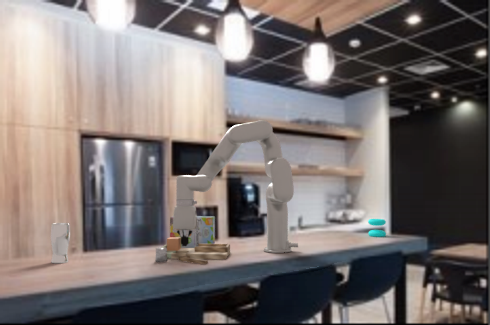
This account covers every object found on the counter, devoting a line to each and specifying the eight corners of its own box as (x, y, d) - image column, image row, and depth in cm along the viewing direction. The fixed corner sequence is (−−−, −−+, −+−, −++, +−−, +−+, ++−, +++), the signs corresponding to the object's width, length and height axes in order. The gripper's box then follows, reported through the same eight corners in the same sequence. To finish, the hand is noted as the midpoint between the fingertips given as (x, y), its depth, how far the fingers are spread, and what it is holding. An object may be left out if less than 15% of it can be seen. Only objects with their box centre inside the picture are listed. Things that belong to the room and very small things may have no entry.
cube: (180, 248, 185) (180, 237, 185) (178, 250, 180) (178, 238, 180) (169, 248, 185) (169, 237, 185) (166, 250, 180) (166, 238, 180)
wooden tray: (230, 253, 186) (230, 243, 186) (225, 259, 170) (225, 249, 170) (168, 252, 188) (168, 243, 188) (158, 258, 172) (158, 248, 172)
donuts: (364, 218, 251) (379, 218, 254) (365, 235, 251) (379, 235, 254) (374, 220, 242) (389, 219, 245) (374, 237, 241) (389, 237, 244)
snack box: (215, 247, 204) (215, 216, 205) (213, 248, 198) (213, 216, 199) (172, 246, 206) (172, 215, 207) (169, 248, 200) (169, 216, 201)
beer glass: (50, 264, 159) (51, 224, 160) (49, 261, 165) (50, 223, 166) (70, 262, 162) (71, 223, 163) (68, 260, 168) (69, 222, 169)
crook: (213, 262, 163) (213, 259, 163) (205, 264, 159) (205, 260, 159) (187, 259, 171) (187, 255, 171) (178, 261, 167) (178, 257, 167)
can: (168, 260, 168) (168, 247, 168) (165, 262, 163) (165, 249, 164) (157, 260, 168) (157, 247, 168) (154, 262, 164) (154, 249, 164)
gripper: (203, 203, 186) (203, 244, 185) (170, 203, 188) (170, 244, 187) (200, 204, 179) (200, 247, 178) (166, 204, 180) (165, 247, 179)
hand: (184, 245), depth 182 cm, fingers closed
